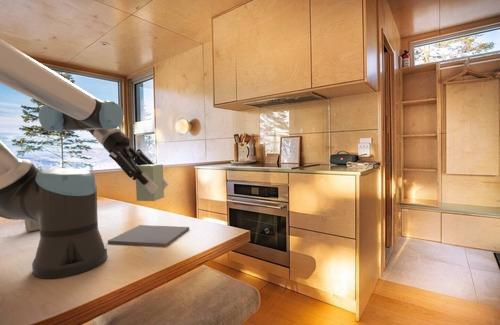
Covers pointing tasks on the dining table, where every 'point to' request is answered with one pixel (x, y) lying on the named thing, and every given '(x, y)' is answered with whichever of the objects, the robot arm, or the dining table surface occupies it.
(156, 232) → the mat
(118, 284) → the dining table surface
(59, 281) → the dining table surface
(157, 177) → the sage block
